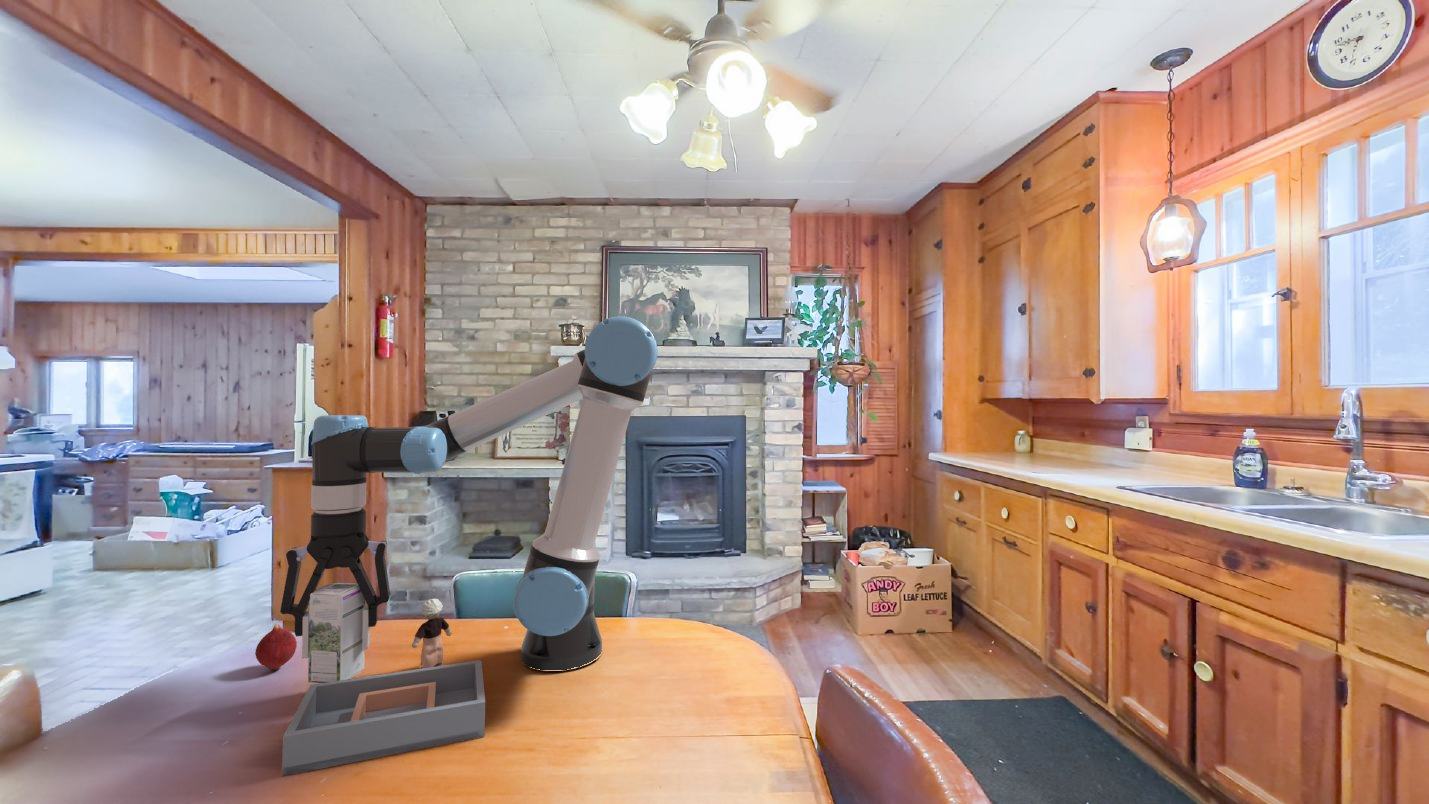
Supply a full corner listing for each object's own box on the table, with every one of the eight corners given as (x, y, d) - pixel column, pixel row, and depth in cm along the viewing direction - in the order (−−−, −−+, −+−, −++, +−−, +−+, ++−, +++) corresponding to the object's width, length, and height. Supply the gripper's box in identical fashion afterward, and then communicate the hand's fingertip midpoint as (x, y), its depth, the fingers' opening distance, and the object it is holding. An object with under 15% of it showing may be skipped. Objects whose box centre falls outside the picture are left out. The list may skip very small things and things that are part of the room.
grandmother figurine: (436, 660, 108) (438, 592, 108) (454, 662, 107) (456, 594, 107) (404, 678, 100) (406, 605, 101) (422, 681, 99) (424, 607, 99)
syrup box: (365, 669, 96) (367, 582, 96) (339, 686, 90) (341, 593, 90) (334, 667, 97) (335, 580, 97) (305, 684, 91) (307, 591, 91)
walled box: (480, 689, 97) (481, 660, 97) (484, 736, 83) (485, 701, 83) (309, 718, 87) (310, 684, 87) (281, 776, 73) (283, 736, 73)
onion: (303, 665, 104) (305, 621, 104) (270, 679, 99) (271, 632, 99) (281, 660, 106) (282, 616, 106) (247, 673, 101) (248, 627, 101)
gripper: (411, 502, 101) (409, 632, 101) (269, 510, 93) (267, 652, 93) (407, 509, 94) (405, 649, 94) (254, 518, 86) (251, 671, 86)
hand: (337, 650), depth 93 cm, fingers closed on syrup box, 7 cm apart
